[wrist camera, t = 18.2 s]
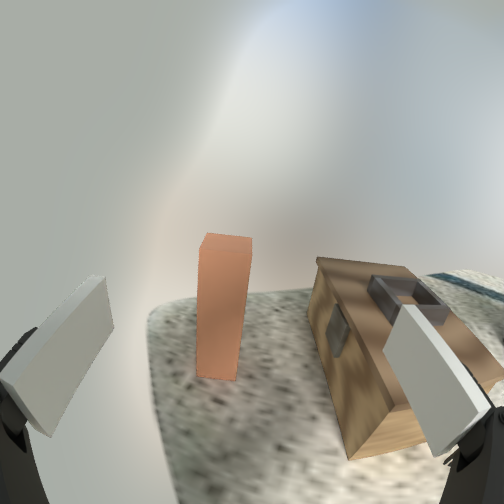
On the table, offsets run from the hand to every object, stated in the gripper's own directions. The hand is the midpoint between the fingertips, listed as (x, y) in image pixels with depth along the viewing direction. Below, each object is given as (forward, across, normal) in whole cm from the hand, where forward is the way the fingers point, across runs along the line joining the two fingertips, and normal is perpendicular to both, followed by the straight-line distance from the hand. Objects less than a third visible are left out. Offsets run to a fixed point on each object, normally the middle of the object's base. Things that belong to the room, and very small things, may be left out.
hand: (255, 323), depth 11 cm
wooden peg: (+12, -2, -15) cm, 19 cm away
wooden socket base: (+12, +17, -15) cm, 26 cm away
